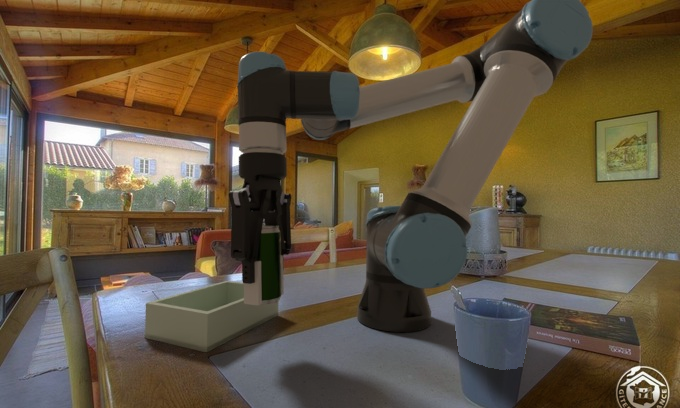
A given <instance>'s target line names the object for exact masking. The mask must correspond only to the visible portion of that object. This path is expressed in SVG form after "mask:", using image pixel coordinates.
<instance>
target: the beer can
mask: <svg viewBox="0 0 680 408" xmlns="http://www.w3.org/2000/svg"><path fill="white" fill-rule="evenodd" d="M250 253H251V252H250ZM257 261H261V290H262V304H261V305H268V304H273V303H276V302H278V301H280V300H281V298H282V296H283V295H282V286H281V231H280V229H279V225H265V224H263V225H262V231H261V238H260V244H259V251H258V257H257Z"/></svg>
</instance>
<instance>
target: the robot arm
mask: <svg viewBox="0 0 680 408" xmlns="http://www.w3.org/2000/svg"><path fill="white" fill-rule="evenodd" d="M593 27H594V26H593V21H592V19H591V16H590V15H589V11H588V9H587V7H586V5H584V4H583V2H582V1H581V0H530V1H528V2H527V3H525V4H524V6H523V7H522V9H521V10H519V11H518V12H517V13H516V14H515V15H514V16H513V17H512V18H510V19H509V21H507V22H506V23H505V24H504V25H503V26H502V27H501V28H500V29H499V30H498V31H497V32H496V33H495V34H493V35H492V37H491V38H489V39H487V41H486V42H485V43H483V44H482V45H481V46H479V47H478V48H476V49H474V50H473V51H471V52H468V53H466V54H462V55H459V56H456V57H454V59H452V61H451V63H449V64H444V65H440V66H437V67H436V66H435V67H433V68H430V69H429V68H428V69H426V70H425V69H424V70H422V71H417V72H413V73H410V74H409V73H408V74H405V75H402V76H398V77H394V78H390V79H386V80H383V81H378V82H374V83H371V84H366V85H362V86H360V82H359V81H360V80H359V78H358V76H357V75H356V74H355V73H352V72H343V71H338V70H334V71H323V70H322V71H319V70H318V71H317V70H316V71H315V70H310V71H309V70H303V71H302V70H290V69H287V67H286V64H285V61H284V60H283V58H282V57H280V56H279V55H277V54H275V53H269V52H266V51H252V52H249V53H246V54H245V55H243V56H242V57H240V60H239V62H238V74H237V76H238V77H237V80H238V81H237V83H236V87H237V105H238V106H237V109H238V110H237V111H238V114H237V115H238V116H237V117H238V150H239V152H241V154H240V155H239V156H238V176H239V178H240V179H242V180H243V183H242V187H241V189H239V190H230V191H229V192H228V198H229V203H230V208H231V211H230V212H231V213H230V214H231V215H230V217H231V218H230V219H231V220H230V223H231V224H230V226H231V227H230V257H231V258H232V259H235V261H237V262H241V273H242V274H241V281H242V283H244V304H251V305H261V304H262V290H261V261H257V257H258V251H259V244H260V238H261V231H262V225H279V229H280V231H281V286H282V295H281V296H283V295H284V294H285V293H284V270H285V269H284V268H285V267H284V256H288V255H289V254H290V251H291V249H292V229H291V227H292V226H291V202H292V194H291V193H285V192H283V188H282V184H281V180H285V179H286V178H287V177H288V176H287V175H288V172H287V171H288V169H287V158H288V157H286V156H285V155H284V154H285V153H287V149H288V148H287V123H286V122H287V119H290V120H300V121H301V125H302V127H303V130H304V131H305V133H306V134H307V136H309V137H310V138H312V139H314V140H317V141H322V140H327V139H329V138H330V137H332V136H334V134H336V133H340V132H344V131H346V130H350V129H353V128H357V127H362V126H364V125H365V126H366V125H368V124H373V123H375V122H376V123H377V122H379V121H384V120H387V119H391V118H394V117H398V116H402V115H405V114H409V113H413V112H416V111H420V110H424V109H427V108H433V107H435V106H438V105H444V104H446V103H450V102H454V101H458V102H459V103H462V104H466V103H469V102H471V103H470V105H469V107H467V110H466V112H465V113H464V115H463V116H462V118H461V120H460V122H459V124H458V125H457V127H456V128H455V131H454V132H453V134H452V136H451V137H450V138H449V141H448V142H447V144H446V145H445V148H444V149H443V151H442V153H441V154H440V156H439V158H438V159H437V161H436V163H434V166H433V168H432V170H431V171H430V173H429V175H428V176H427V178H426V180H425V182H424V183H423V185H422V186H421V187H420V188H417V189H415V190H411V191H409V192H408V193H407V194H406V195H405V198H404V199H403V202H402V203H401V204H400V205H388V206H379V207H373V208H372V209H369V211H368V212H367V214H366V222H365V228H366V244H365V245H366V256H365V257H366V258H365V262H366V263H365V265H366V267H365V268H366V269H365V284H364V285H363V289H362V292H361V295H360V297H359V301H358V304H357V307H356V308H357V309H356V310H357V311H356V318H357V320H358V321H359V323H361V324H362V325H364V326H367V327H369V328H372V329H374V330H380V331H383V332H384V331H385V332H392V333H408V332H417V331H420V330H425V329H427V328H429V327H430V325H431V324H432V311H431V307H430V303H429V300H428V297H427V295H426V290H427V289H435V288H440V287H442V286H444V285H446V284H448V283H450V282H452V281H453V280H454V279H455V278H456V277H457V276H458V275H459V274H460V272H461V271H462V270H463V267H464V266H465V263H466V260H467V257H468V250H469V249H468V246H467V238H466V237H467V235H468V234H469V231H470V230H471V228H472V225H473V224H472V221H471V218H470V215H469V212H470V210H471V208H472V206H473V204H475V203H474V202H475V201H476V199H477V198H478V195H479V194H480V193H481V191H482V189H483V187H484V185H485V184H486V181H488V178H489V176H490V174H491V173H492V171H493V170H494V167H495V166H496V164H497V163H498V160H499V159H500V157H501V155H502V153H503V151H504V150H505V148H506V147H507V145H508V143H509V142H510V140H511V138H512V136H513V134H514V132H515V131H516V129H517V128H518V126H519V124H520V122H521V121H522V119H523V117H524V115H525V114H526V111H528V110H527V109H528V108H529V107H530V106H531V105H530V104H531V103H532V101H533V99H534V98H535V97H539V96H542V95H544V94H546V93H547V92H548V91H549V90H550V88H551V87H552V85H553V84H554V82H555V81H556V78H557V77H558V75H559V73H560V71H561V70H562V68H563V66H564V65H565V64H566V63H567V62H569V61H570V60H574V59H575V58H577V57H578V56H580V55H581V53H583V52H584V51H585V50H586V49H587V48H588V47H589V45H590V43H591V41H592V38H593ZM250 252H251V253H250ZM425 289H426V290H425Z"/></svg>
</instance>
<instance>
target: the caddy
mask: <svg viewBox="0 0 680 408" xmlns="http://www.w3.org/2000/svg"><path fill="white" fill-rule="evenodd" d="M279 301H280V300H279ZM279 301H278V302H276V303H273V304H268V305H251V304H244V283H243V282H241V281H233V280H232V281H231V280H225V281H221V282H217V283H214V284H211V285H207V286H203V287H200V288H196V289H192V290H189V291H185V292H181V293H177V294H175V295H170V296H166V297H163V298H159V299H157V300H152V301H149V302H146V303H145V315H144V316H145V320H144V322H145V323H144V326H145V327H144V328H145V329H144V338H145V339H148V340H152V341H157V342H162V343H163V344H169V345H174V346H178V347H182V348H186V349H189V350H195V351H199V352H203V353H209V352H211V351H213V350H214V349H216V348H218V347H220V346H222V345H224V344H227V343H228V342H229V341H232V340H234V339H236V338H238V337H239V336H241V335H243V334H245V333H247V332H249V331H251V330H253V329H255V328H257V327H259V326H261V325H264V324H265V323H266V322H268V321H270V320H272V319H274V318H276V317H278V316H279Z"/></svg>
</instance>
